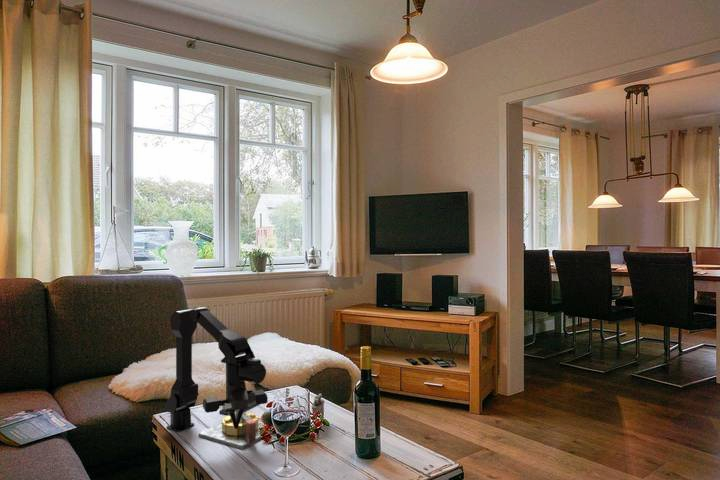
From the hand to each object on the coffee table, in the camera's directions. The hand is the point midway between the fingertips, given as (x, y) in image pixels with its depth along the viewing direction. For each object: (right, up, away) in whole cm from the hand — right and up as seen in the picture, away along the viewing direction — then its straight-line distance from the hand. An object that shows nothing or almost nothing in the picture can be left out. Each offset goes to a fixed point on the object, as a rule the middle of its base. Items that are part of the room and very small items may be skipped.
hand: (235, 428), depth 150 cm
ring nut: (+1, -4, +7) cm, 8 cm away
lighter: (+24, -5, +15) cm, 29 cm away
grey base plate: (-1, -5, +10) cm, 11 cm away
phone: (-7, -5, +32) cm, 33 cm away
